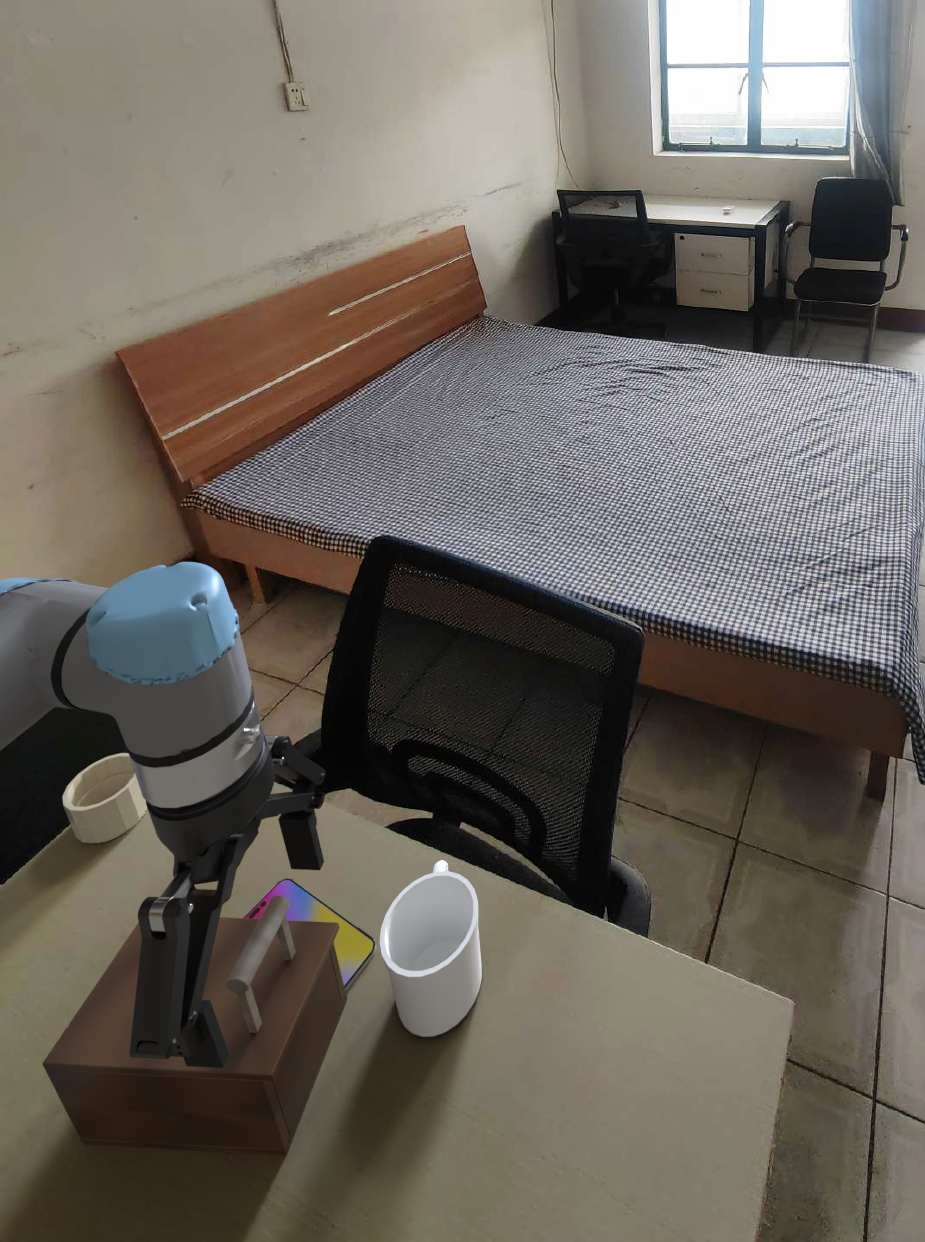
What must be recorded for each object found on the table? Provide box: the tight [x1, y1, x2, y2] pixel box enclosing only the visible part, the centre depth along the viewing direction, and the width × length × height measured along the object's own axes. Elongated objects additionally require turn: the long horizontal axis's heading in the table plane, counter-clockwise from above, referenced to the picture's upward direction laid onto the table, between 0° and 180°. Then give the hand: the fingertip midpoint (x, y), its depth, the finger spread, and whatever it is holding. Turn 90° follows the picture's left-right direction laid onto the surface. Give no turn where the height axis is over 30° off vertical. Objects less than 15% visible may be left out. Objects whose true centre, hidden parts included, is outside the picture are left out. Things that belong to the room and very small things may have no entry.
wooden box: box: [44, 942, 348, 1156], centre depth 60 cm, size 18×11×11 cm, turn 88°
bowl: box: [61, 752, 148, 845], centre depth 83 cm, size 7×7×6 cm
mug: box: [379, 860, 483, 1040], centre depth 67 cm, size 11×9×10 cm
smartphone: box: [243, 877, 377, 992], centre depth 71 cm, size 7×1×15 cm
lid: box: [42, 896, 339, 1081], centre depth 57 cm, size 18×11×8 cm, turn 88°
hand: (263, 952), depth 56 cm, fingers open, 13 cm apart
